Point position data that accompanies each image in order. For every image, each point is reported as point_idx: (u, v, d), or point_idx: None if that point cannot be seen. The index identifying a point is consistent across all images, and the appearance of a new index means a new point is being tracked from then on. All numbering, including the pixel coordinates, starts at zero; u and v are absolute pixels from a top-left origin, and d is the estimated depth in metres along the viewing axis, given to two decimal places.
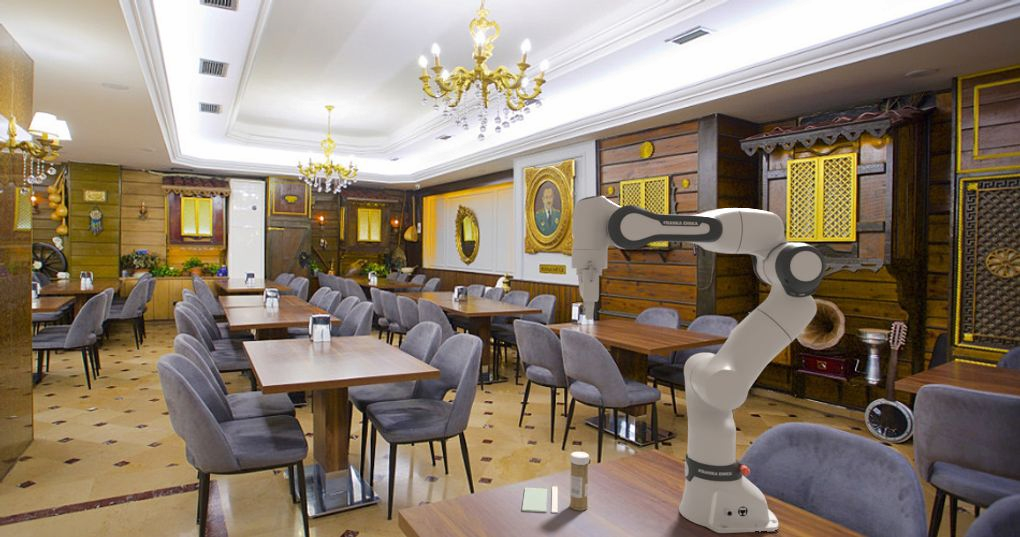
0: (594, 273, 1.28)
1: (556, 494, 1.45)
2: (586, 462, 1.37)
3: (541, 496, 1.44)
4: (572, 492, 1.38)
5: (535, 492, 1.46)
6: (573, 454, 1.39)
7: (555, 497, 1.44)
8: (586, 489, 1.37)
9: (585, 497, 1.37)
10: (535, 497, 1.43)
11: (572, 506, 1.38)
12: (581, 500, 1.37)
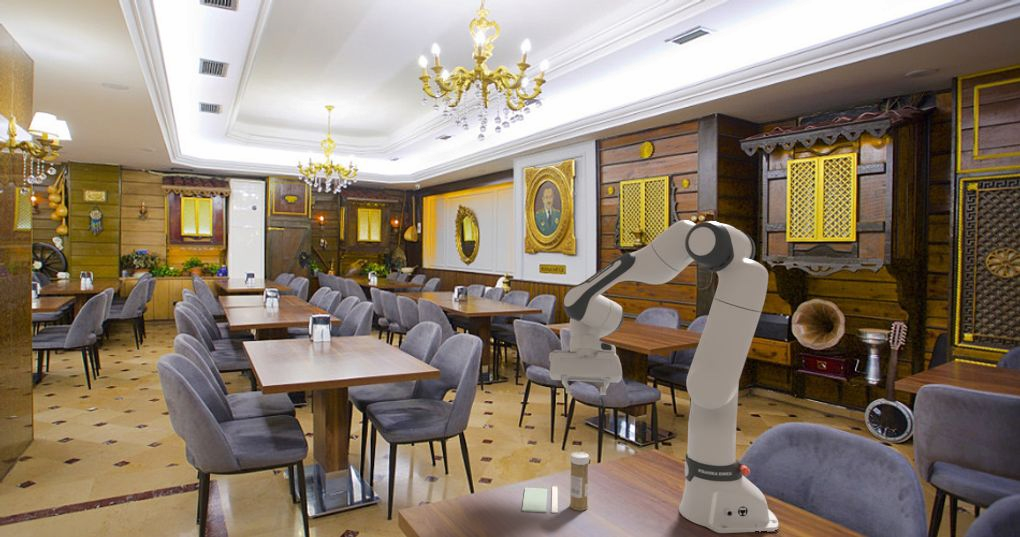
0: None
1: (556, 494, 1.45)
2: (586, 462, 1.37)
3: (541, 496, 1.44)
4: (572, 492, 1.38)
5: (535, 492, 1.46)
6: (573, 454, 1.39)
7: (555, 497, 1.44)
8: (586, 489, 1.37)
9: (585, 497, 1.37)
10: (535, 497, 1.43)
11: (572, 506, 1.38)
12: (581, 500, 1.37)
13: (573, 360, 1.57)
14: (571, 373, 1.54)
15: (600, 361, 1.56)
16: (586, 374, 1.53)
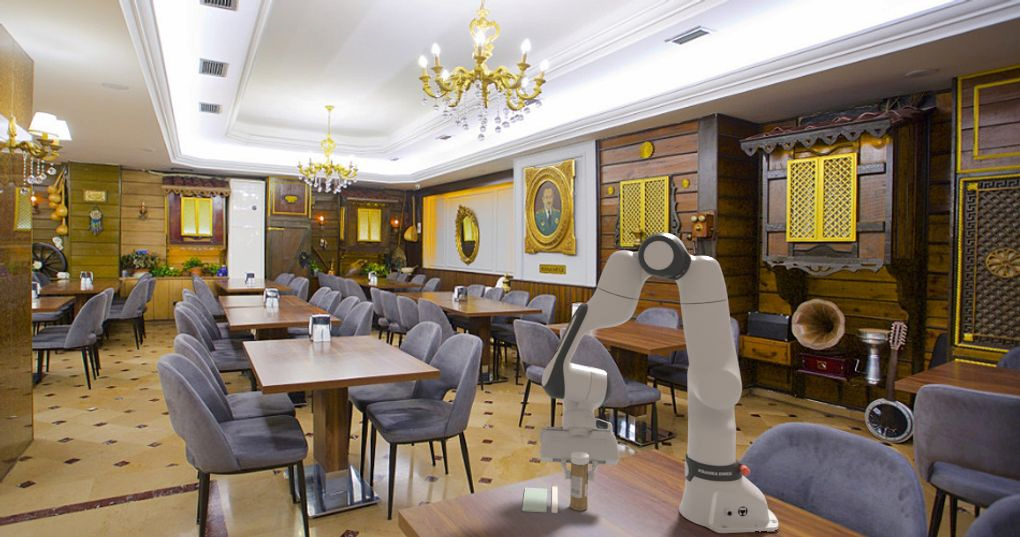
0: None
1: (556, 494, 1.45)
2: (586, 462, 1.37)
3: (541, 496, 1.44)
4: (572, 492, 1.38)
5: (535, 492, 1.46)
6: (573, 454, 1.39)
7: (555, 497, 1.44)
8: (586, 489, 1.37)
9: (585, 497, 1.37)
10: (535, 497, 1.43)
11: (572, 506, 1.38)
12: (581, 500, 1.37)
13: (565, 439, 1.44)
14: (563, 456, 1.41)
15: (596, 441, 1.43)
16: None
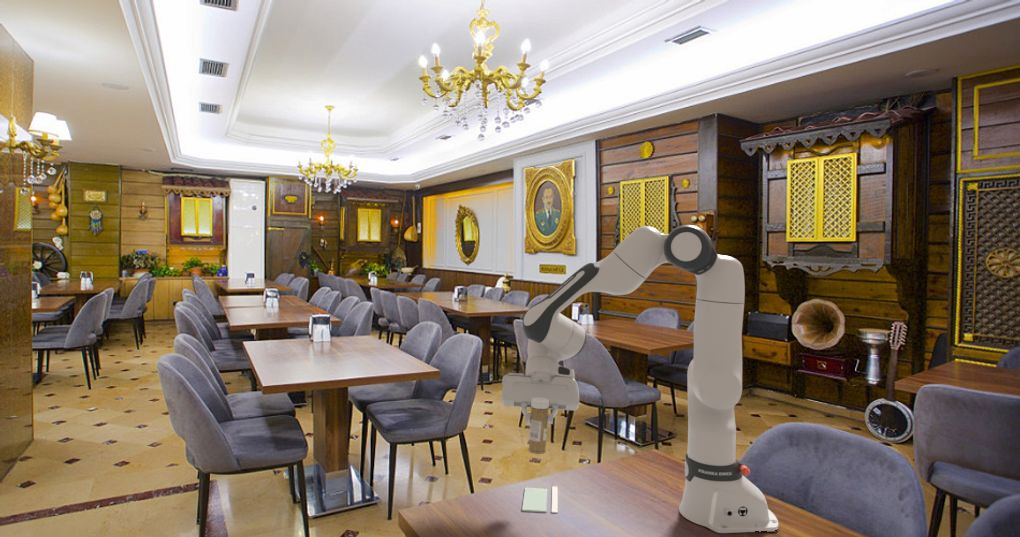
0: None
1: (556, 494, 1.45)
2: (546, 406, 1.38)
3: (541, 496, 1.44)
4: (531, 436, 1.39)
5: (535, 492, 1.46)
6: (534, 399, 1.39)
7: (555, 497, 1.44)
8: (545, 433, 1.38)
9: (543, 441, 1.38)
10: (535, 497, 1.43)
11: (530, 450, 1.39)
12: (539, 443, 1.38)
13: (527, 385, 1.45)
14: (524, 399, 1.41)
15: (557, 386, 1.44)
16: None
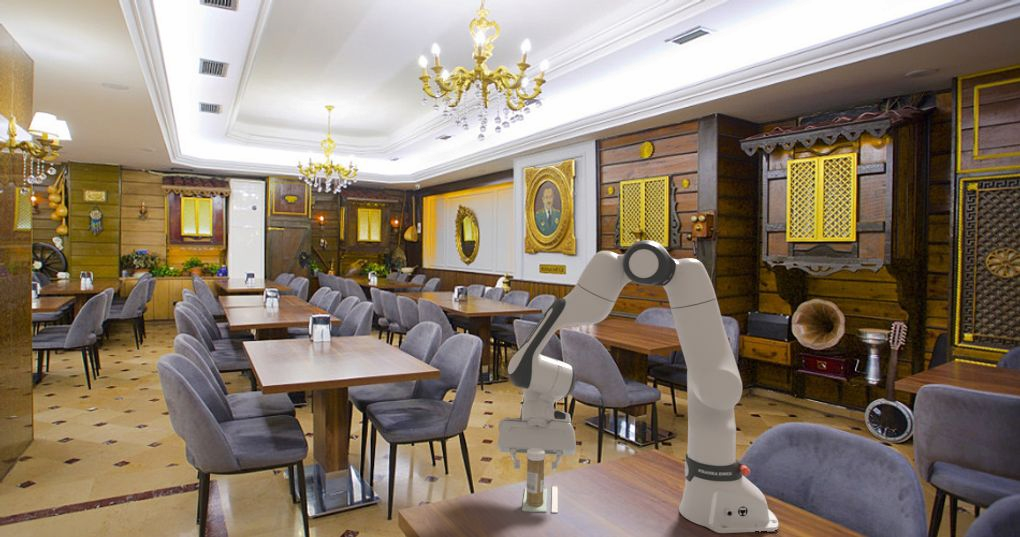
0: None
1: (556, 494, 1.45)
2: (542, 458, 1.38)
3: None
4: (528, 488, 1.39)
5: None
6: (529, 450, 1.40)
7: (555, 497, 1.44)
8: (542, 485, 1.38)
9: (541, 493, 1.38)
10: None
11: (528, 502, 1.39)
12: (536, 495, 1.38)
13: (523, 430, 1.45)
14: (520, 446, 1.42)
15: (553, 431, 1.44)
16: (536, 447, 1.41)
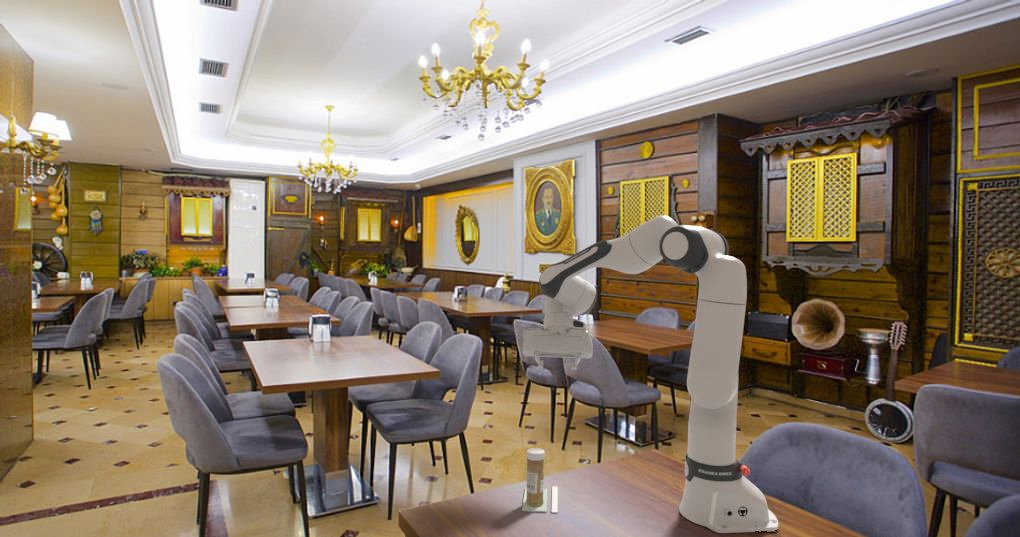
0: None
1: (556, 494, 1.45)
2: (541, 458, 1.38)
3: None
4: (528, 488, 1.39)
5: None
6: (529, 450, 1.40)
7: (555, 497, 1.44)
8: (541, 485, 1.38)
9: (540, 493, 1.38)
10: None
11: (528, 502, 1.39)
12: (536, 495, 1.38)
13: (546, 337, 1.62)
14: (543, 349, 1.59)
15: (572, 338, 1.61)
16: (558, 350, 1.58)
